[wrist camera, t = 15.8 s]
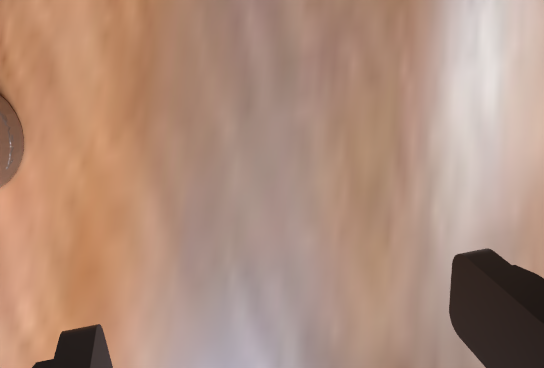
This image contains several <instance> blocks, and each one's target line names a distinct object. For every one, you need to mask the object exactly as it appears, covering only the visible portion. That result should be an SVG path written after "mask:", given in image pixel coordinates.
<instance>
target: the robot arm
mask: <svg viewBox="0 0 544 368" xmlns="http://www.w3.org/2000/svg"><path fill="white" fill-rule="evenodd" d="M23 151H24V137H23V133H22V128H21V124H20V122H19V120H18V118H17V115H16V113H15V112H14V110H13V109H12V108H11V106H10V105H9V103H8V102H7V101H6V100H5V99H4V98H3V97H2V96H1V95H0V188H1V187H2V186H4V185H5V184H6V183H8V182H9V181H10V179H11V178H12V177H13V176H14V174H15V173H16V172H17V170H18V167H19V165H20V163H21V160H22V156H23ZM449 313H450V319H451V322H452V325H453V327H454V330H455V331H456V333H457V335H458V336H459V337H460V338H461V340H462V341H463V342H464V343H465V344H466V345H467V346H468V348H469V349H470V350H471V351H472V352H473V353H474V354H475V356H476V357H477V358H478V359H479V360H480V361H481V362H482V364H483V365H484V366H485V367H486V368H544V279H543V278H542V277H540V276H539V275H537V274H535V273H533V272H530V271H528V270H526V269H523V268H521V267H519V266H516V265H511V264H509V263H508V262H507V261H506V260H504V259H503V258H502V257H500V256H499V255H498V254H497V253H495V252H494V251H493V250H491V249H482V250H477V251H472V252H467V253H462V254H457V255H456V256H455V257H454V259H453V263H452V275H451V290H450V305H449ZM32 368H113V366H112V363H111V359H110V355H109V351H108V347H107V343H106V340H105V336H104V332H103V329H102V327H101V325H100V324H98V325H93V326H88V327H83V328H78V329H73V330H68V331H63V332H61V334H60V337H59V341H58V345H57V348H56V352H55V356H54V359H51V360H46V361H41V362H37V363H36V364H35V365H34V366H33V367H32Z"/></svg>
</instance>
